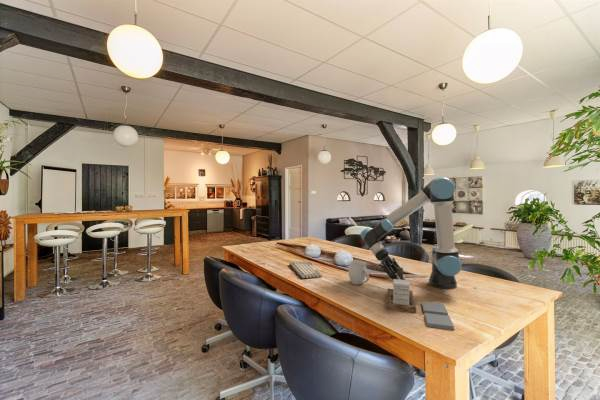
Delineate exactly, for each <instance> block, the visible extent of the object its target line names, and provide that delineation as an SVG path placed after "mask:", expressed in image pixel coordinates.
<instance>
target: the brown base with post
mask: <svg viewBox="0 0 600 400" xmlns="http://www.w3.org/2000/svg"><path fill="white" fill-rule="evenodd" d="M400 267H401V266H400ZM400 267H397V273H396V275H397V276H399V278H400V279H401V280H403V275H404V273H403V271H404V267H401V268H400ZM386 293H387V295H386V310H389V311H390V310H391V311H399V312H407V313H414V314H416V313H417V307H416V301H415V297H414V293H413V290H409V302H410V304H411V305H410V304H409V305H401V304H394V303H391V299H393V288H387V292H386Z"/></svg>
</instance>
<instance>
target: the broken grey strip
mask: <svg viewBox="0 0 600 400" xmlns="http://www.w3.org/2000/svg"><path fill="white" fill-rule="evenodd" d="M421 306H422V311H423V314H424V319H425V322H426V327H430V328H437V329H443V330H452V331H454V330H455V325H454V323H453V321H452V319H451V317H450V315H449V313H448V310H447V308H446V306H445V304H444V303H443V302H442V303H439V302H432V301H423V300H422V301H421Z"/></svg>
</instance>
